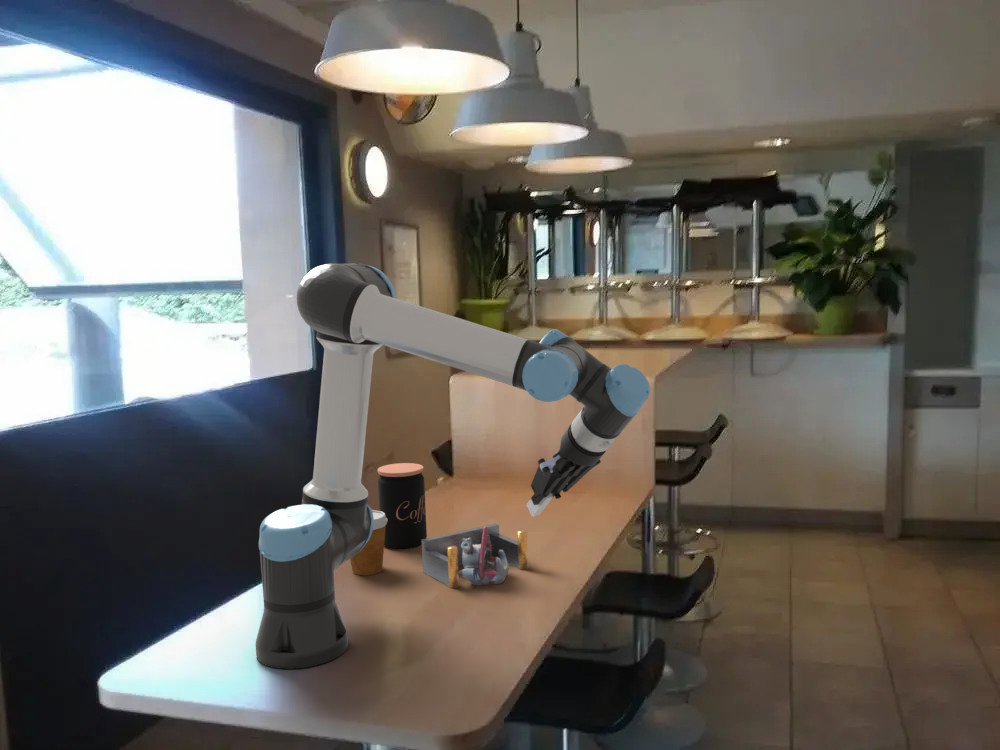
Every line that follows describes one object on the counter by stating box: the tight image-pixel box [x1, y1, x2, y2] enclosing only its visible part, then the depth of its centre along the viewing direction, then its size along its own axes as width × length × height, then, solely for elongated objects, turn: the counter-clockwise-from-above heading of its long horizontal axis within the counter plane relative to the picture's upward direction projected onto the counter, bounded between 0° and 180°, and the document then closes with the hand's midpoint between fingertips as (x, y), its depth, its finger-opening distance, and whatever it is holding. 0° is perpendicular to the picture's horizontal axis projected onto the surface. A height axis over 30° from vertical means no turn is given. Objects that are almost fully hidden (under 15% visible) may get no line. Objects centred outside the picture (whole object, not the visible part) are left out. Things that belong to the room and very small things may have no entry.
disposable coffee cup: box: [349, 509, 388, 576], centre depth 186 cm, size 10×10×12 cm
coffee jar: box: [376, 462, 428, 551], centre depth 203 cm, size 11×11×18 cm
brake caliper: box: [458, 525, 510, 586], centre depth 178 cm, size 11×11×12 cm
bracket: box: [421, 523, 529, 589], centre depth 183 cm, size 19×12×8 cm, turn 124°
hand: (532, 510), depth 165 cm, fingers closed
